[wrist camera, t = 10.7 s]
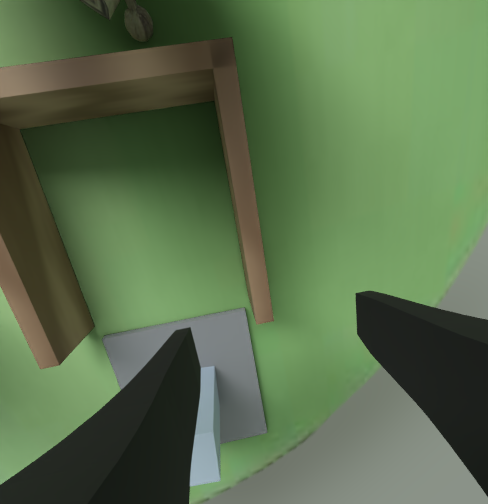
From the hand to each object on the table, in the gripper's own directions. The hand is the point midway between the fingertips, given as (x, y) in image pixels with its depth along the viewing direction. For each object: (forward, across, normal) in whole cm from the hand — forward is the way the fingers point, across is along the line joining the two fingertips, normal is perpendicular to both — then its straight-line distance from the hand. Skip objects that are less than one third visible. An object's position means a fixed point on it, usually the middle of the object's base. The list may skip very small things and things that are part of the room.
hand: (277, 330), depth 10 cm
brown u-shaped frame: (+10, +7, -5) cm, 13 cm away
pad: (+10, +7, +11) cm, 16 cm away
